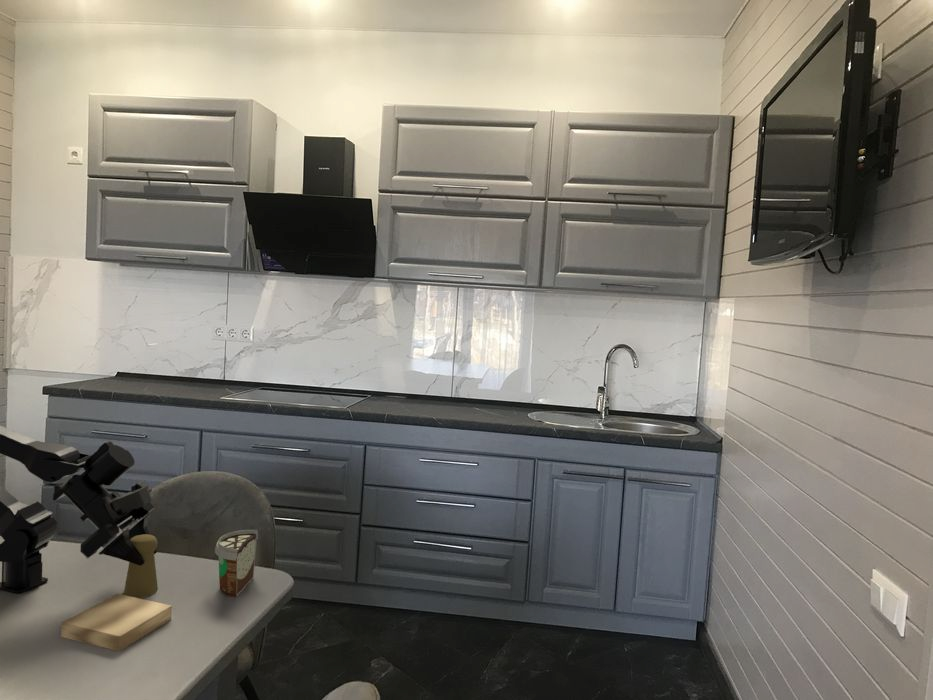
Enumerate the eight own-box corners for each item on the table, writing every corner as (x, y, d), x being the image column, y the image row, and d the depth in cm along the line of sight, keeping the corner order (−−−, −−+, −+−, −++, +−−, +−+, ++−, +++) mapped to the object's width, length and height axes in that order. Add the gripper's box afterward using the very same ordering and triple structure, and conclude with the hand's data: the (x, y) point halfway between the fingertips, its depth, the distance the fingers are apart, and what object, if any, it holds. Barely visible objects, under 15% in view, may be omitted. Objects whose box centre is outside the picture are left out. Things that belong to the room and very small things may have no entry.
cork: (144, 599, 125) (146, 543, 124) (116, 594, 126) (118, 539, 125) (164, 587, 131) (166, 533, 130) (138, 582, 132) (140, 529, 131)
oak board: (61, 636, 110) (61, 622, 110) (117, 606, 121) (117, 593, 121) (119, 651, 107) (119, 636, 107) (171, 619, 118) (171, 605, 118)
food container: (227, 572, 140) (229, 526, 139) (256, 574, 139) (258, 529, 139) (202, 597, 127) (204, 547, 127) (233, 600, 127) (236, 550, 127)
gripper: (99, 486, 118) (159, 549, 119) (146, 462, 136) (197, 516, 137) (53, 526, 118) (114, 589, 119) (106, 497, 136) (158, 551, 137)
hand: (149, 558), depth 128 cm, fingers closed on cork, 5 cm apart
